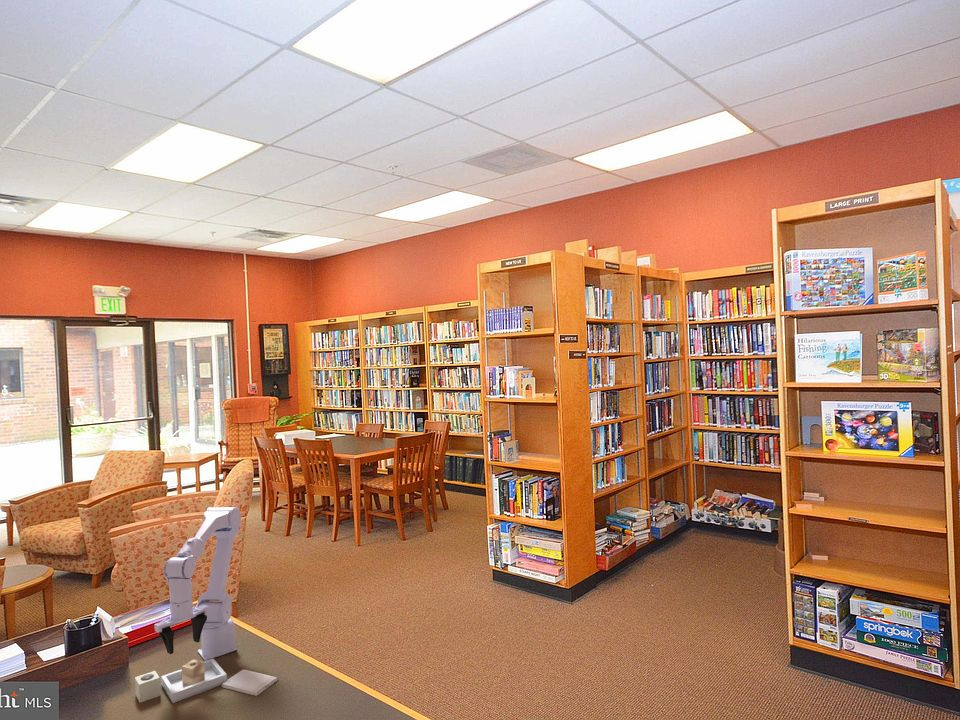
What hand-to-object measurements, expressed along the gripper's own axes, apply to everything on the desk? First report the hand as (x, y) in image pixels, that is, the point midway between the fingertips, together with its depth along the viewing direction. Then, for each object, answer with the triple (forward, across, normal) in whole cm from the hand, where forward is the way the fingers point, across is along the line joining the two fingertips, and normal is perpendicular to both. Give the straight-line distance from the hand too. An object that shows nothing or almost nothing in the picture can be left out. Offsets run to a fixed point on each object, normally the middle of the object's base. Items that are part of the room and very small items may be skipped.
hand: (183, 646), depth 173 cm
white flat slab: (+10, -9, +18) cm, 22 cm away
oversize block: (+10, +10, -1) cm, 14 cm away
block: (+9, 0, +4) cm, 10 cm away
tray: (+10, 0, +4) cm, 10 cm away
